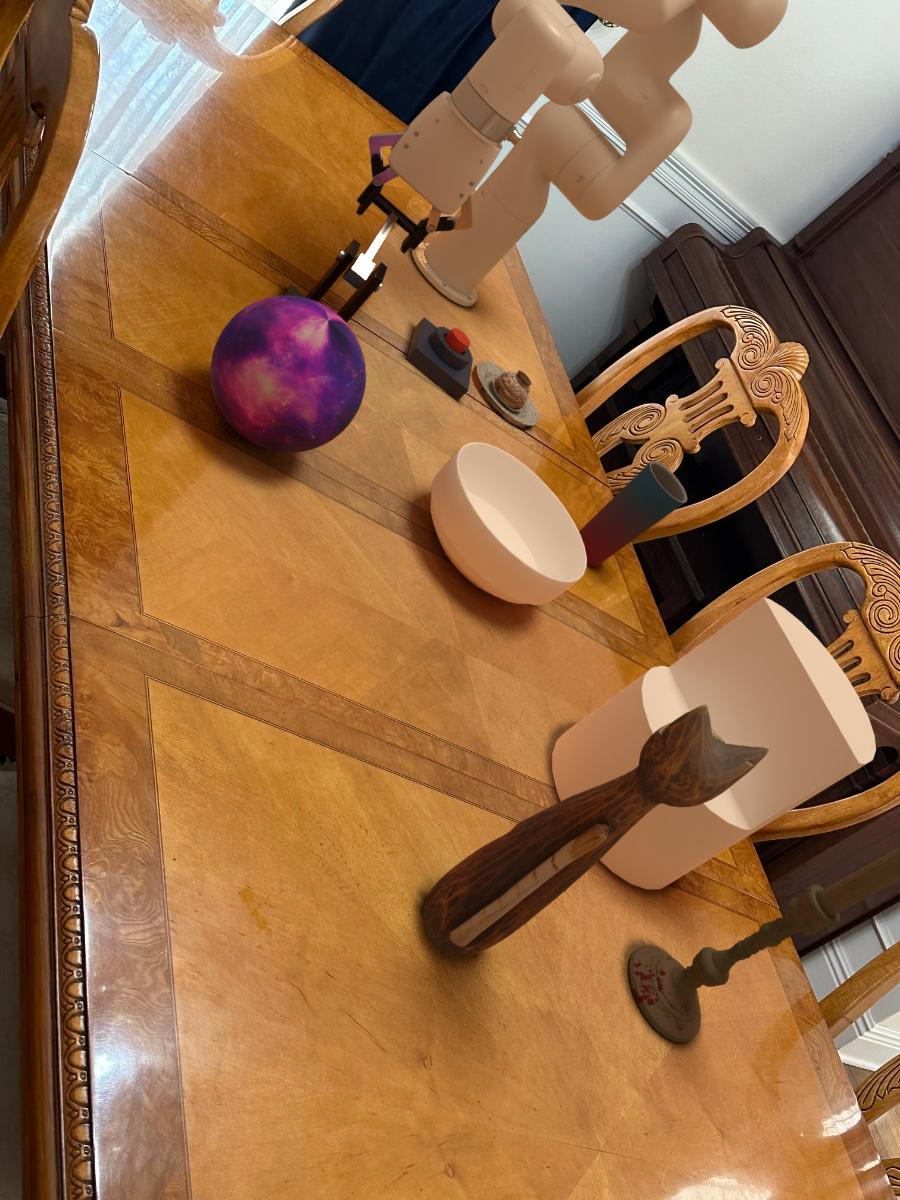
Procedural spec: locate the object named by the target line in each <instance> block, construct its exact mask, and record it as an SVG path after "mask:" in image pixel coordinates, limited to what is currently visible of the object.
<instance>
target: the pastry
mask: <svg viewBox="0 0 900 1200" xmlns="http://www.w3.org/2000/svg"><path fill="white" fill-rule="evenodd" d="M476 375H477V377H478V380H479V382H480V384H481V385H482V386H481V393H482V394H483V396H484V398H485V400H487V402H488V403H489V404H490V406H491V407H492V408H493V409H494V410H495V411H497V412H498V413H499V415H500V416H501V418H504V419H505V420H506V422H509V423H511V424H512V425H513V426H515V427H519V428H525V427H528V426H529V427H533V426H536V425H537V424H538V423H539V418H540V417H539V412H538V409H537V407H536V405H535V402H534V401H533V399H532V398H531V396H530V395H529V393H530V392H531V387H530V386H531V385H533V383H532V381H531V379H530V377H529V376H528V375H527V374H526V373H525V372H524V371H522V370H517V371H507V370H505V369H503V368H502V367H501V366H499V365H498V364H496V363H494V362H492V361H488V360H481V361H479V362H478V363H477V365H476Z"/></svg>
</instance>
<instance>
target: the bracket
mask: <svg viewBox="0 0 900 1200" xmlns="http://www.w3.org/2000/svg"><path fill="white" fill-rule="evenodd" d="M361 245H362V244H361V243H360V242H359V241H358V240H357V239H355V238H354V239H352V240H351V241H350V243H349V244H348V245H347V246H346V248H345V249H343V248H341V249H340V250H339V251H338V253H337V254H336V255H335V257H334V260H335V261H334V262H333V263H332V264H331V266H330V267H329V268H328V269H327V271H326V272H325V273H324V274H323V275H322V276H321V278H320V279H319V280H318V282H317V283H316V284H315V285H314V286H313V287H312V288H311V290H310V291H309V292H308V293H307V295H306V294H304V293H303V292H302V291H301V290H300V289H299V288H297V287H296V286H295V285H293V284H292V283H290V284H289V286H288V287H287V288H286V289H285V291H284V292H283V294H282V296H298V297H304V298H307V299H311V300H314V301H316V302H319V303H320V301H321V300H322V298H323V297H324V296H325V295H326V294H327V293H328V291H329V290H330V289H331V288H332V287H333V285H334V284H335V283H336V282H337V280H339V278H340V277H342V276H343V274H344V273H345V271H346V270H347V268H348V267H349V265H350V264H351V263H352V261H353V260H354V259H355V258H356V257H357V256H358V252H359V250H360V248H361ZM388 269H389V267H388V266H387V265H386V264H385V263H384V262H382V261H380V262H379V263H378V265H376V266H375V267H374V269H373V271H372V272H371V274H370V275H369V277H368V279H367V280H366V281H365V282H364V283H363V284H362V285H361V286H360V287H359V288H358V289H355V291H354V292H353V294H352V295H351V296H350V297H348V299H347V300H346V301H345V303H344V304H343V305H342V306H341V308H340V309H339V310H338V311H337V312H336V314H337V315H339V316H340V317H341V318H342V319H343V320H344V321H345V322H346V324H348V322H349V321H350V320H351V319H352V318H353V316H354V315H355V314H356V313H357V312H358V311H359V310H360V309H361V307H362V306H363V305H364V304H365V303H366V302H367V300H368V299H369V298H370V297H371V296H372V295H373V294H374V293H375V294H376V293H377V292H378V291H379V290H381V288H382V286H383V285H384V283H383V282H384V279H385V277H386V274H387V270H388Z"/></svg>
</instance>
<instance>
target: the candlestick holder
mask: <svg viewBox="0 0 900 1200" xmlns="http://www.w3.org/2000/svg"><path fill="white" fill-rule="evenodd" d="M898 881H900V846H899V847H897V848H896V849H894V850H892V851H890V852H888V853H887V854H884V855H883V856H881V857H880V858H878V859H875V860H874V861H872V862H870V863H869V864H867V865H865V866H863V867H862V868H859V869H858V870H856V871H854V872H852V873H851V874H849V875H847V876H845V877H844V878H842V879H840V880H838V881H836V882H834V883H832V884H831V885H830V886H828V887H827V886H826V887H825V888H824V887H822V886H821V885H819V884H811V885H809V886H808V887H807V888H806V890H805V894H804V896H797V897H794V898H792V899H791V900H790V901H789V902H788V904H787V910H786V913H787V914H786V916H782V917H776V919H773V920H771V921H767V922H764V923H762V925H761V926H760V927H759V929H758V931H755V932H753V933H752V934H751V935H748V936H746V937H745V938H743V939H741V940H738V941H737V942H736V943H734V944H733V945H732V946H731V947H730V948H727V949H721V950H717V949H716V948H714V947H712V946H704V947H703V948H701V949H700V950H699V952H698V953H696V954H695V956H694V957H693V959H692V962H691V965H688V966H687V967H684V965H683V964H682V963H680V962H679V960H677V959H676V958H675V957H673V956H672V955H671V954H669V952H667V951H666V950H664V949H663V948H660V947H659V946H656V945H652V944H649V945H641V946H639V947H637V948H636V949H635V950H633V952H632V954H631V956H630V958H629V961H628V962H629V963H628V979H629V984H630V989H631V992H632V995H633V996H634V999H635V1001H636V1005H637V1006H638V1007H639V1009H640V1011H641V1013H642V1014H643V1016H644V1017H645V1019H646V1020H647V1021H648V1023H649V1024H650V1025H651V1027H653V1029H655V1030H656V1031H657V1032H658V1033H659V1034H661V1035H662V1037H664V1038H666V1039H667V1040H670V1041H672V1042H675V1043H680V1044H682V1043H687V1042H688V1043H689V1042H690V1041H692V1040H693V1039H694V1038H695V1037H696V1036H697V1035H698V1033H699V1031H700V1029H701V1026H702V1025H701V1024H702V1011H701V1005H700V997H699V993H698V992H699V991H698V989H700V988H701V987H702V986H704V987H707V988H713V987H719V986H723V985H725V984H727V983H728V981H729V979H730V971H731V969H732V968H733V967H734V966H735V965H736V963H738V962H740V961H745V960H747V959H750V958H751V957H752V956H753V955H757V954H758V953H759V952H761V951H764V950H765V949H767V948H775V947H778V946H780V945H781V944H782V942H783V941H785V940H786V939H789V938H791V936H792V934H793V933H795V932H798V933H800V934H802V935H804V936H814V935H815V934H817V933H818V932H819V931H820V930H821V928H822V927H825V928H828V929H831V928H836V927H837V926H838V925H839V924H840V922H841V915H840V913H841V912H843V911H845V910H846V909H849V908H851V907H852V906H854V905H856V904H857V903H860V902H861V901H864V900H865V899H867V898H869V897H871V896H873V895H874V894H876V893H878V892H880V891H882V890H885V889H886V888H887V887H889V886H891V885H892V884H895V883H897V882H898Z"/></svg>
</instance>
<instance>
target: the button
mask: <svg viewBox="0 0 900 1200" xmlns="http://www.w3.org/2000/svg"><path fill="white" fill-rule="evenodd" d="M450 330H451V331H450V332H449V333H448V334H447V335H446V336H445V337H444V338H445V340H446V342H447V343H448V345H449V346H450V347H451V348H452V349H453V350H455V351H456V352H457V353H459V354H462V353H463V352H464V351H465V350H466V349H467V348H469V347H470V346H471V340H470V338H469V337H468V335H467V334H465V332H464V331H462V330H461V329H459V328H458V327H452V328H451V329H450Z"/></svg>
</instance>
